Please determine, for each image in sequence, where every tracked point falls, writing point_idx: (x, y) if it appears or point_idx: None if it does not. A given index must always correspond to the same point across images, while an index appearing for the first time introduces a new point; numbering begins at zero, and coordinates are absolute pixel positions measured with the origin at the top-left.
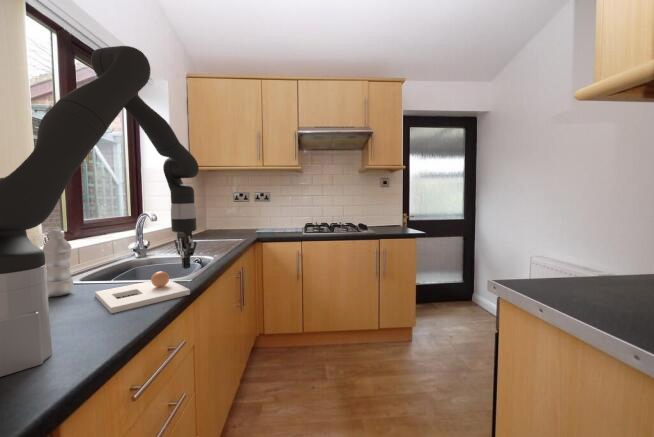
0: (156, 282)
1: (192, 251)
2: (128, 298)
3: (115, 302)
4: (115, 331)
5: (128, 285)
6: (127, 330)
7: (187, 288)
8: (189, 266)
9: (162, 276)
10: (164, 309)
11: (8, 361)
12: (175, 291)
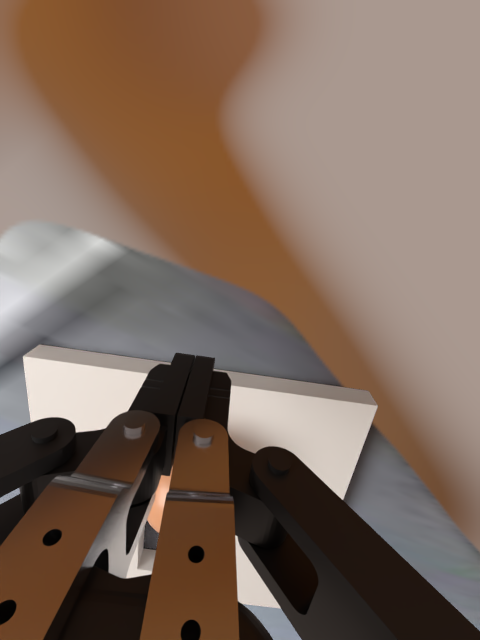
0: None
1: (335, 529)
2: (250, 563)
3: (257, 591)
4: None
5: None
6: (467, 608)
7: (349, 402)
8: (226, 376)
9: None
10: (427, 516)
11: None
12: (338, 452)
